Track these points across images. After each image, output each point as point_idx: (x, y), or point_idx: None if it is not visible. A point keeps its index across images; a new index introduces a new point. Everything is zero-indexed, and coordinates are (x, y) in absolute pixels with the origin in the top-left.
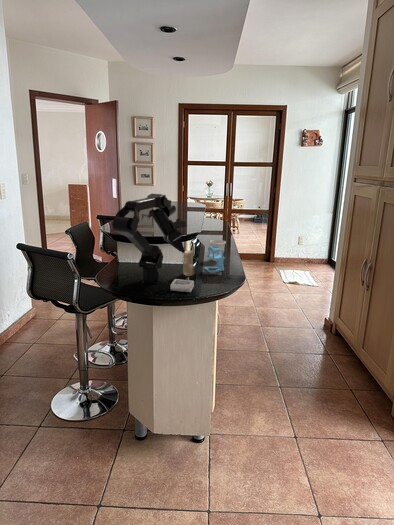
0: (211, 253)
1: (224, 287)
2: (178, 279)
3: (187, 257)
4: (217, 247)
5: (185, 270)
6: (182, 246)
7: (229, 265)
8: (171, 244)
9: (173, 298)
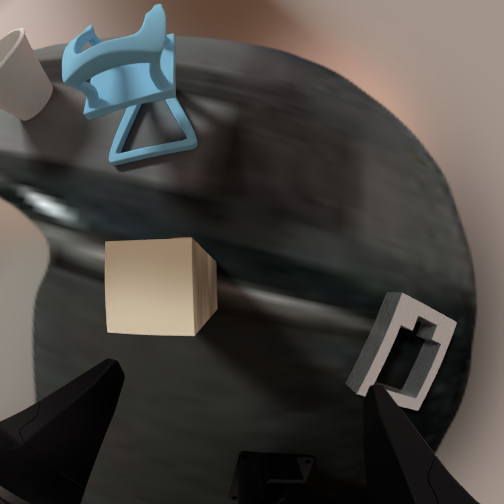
0: (12, 107)
1: (403, 156)
2: (369, 375)
3: (200, 302)
4: (88, 31)
5: (214, 308)
6: (419, 446)
7: None
8: (85, 481)
9: (464, 384)
